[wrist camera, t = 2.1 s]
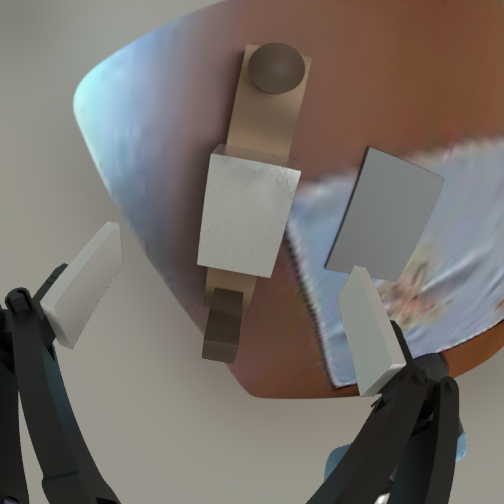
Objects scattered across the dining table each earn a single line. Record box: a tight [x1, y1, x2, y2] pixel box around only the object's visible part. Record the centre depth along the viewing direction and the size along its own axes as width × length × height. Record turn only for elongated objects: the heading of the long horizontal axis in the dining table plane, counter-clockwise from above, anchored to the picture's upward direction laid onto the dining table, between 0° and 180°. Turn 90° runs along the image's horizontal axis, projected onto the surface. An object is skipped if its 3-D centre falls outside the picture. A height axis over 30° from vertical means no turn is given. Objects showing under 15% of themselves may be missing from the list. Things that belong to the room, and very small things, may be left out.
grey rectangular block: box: [197, 143, 301, 278], centre depth 21 cm, size 9×6×4 cm, turn 169°
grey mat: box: [325, 147, 445, 282], centre depth 26 cm, size 14×10×1 cm
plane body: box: [202, 43, 312, 364], centre depth 21 cm, size 26×5×10 cm, turn 169°
